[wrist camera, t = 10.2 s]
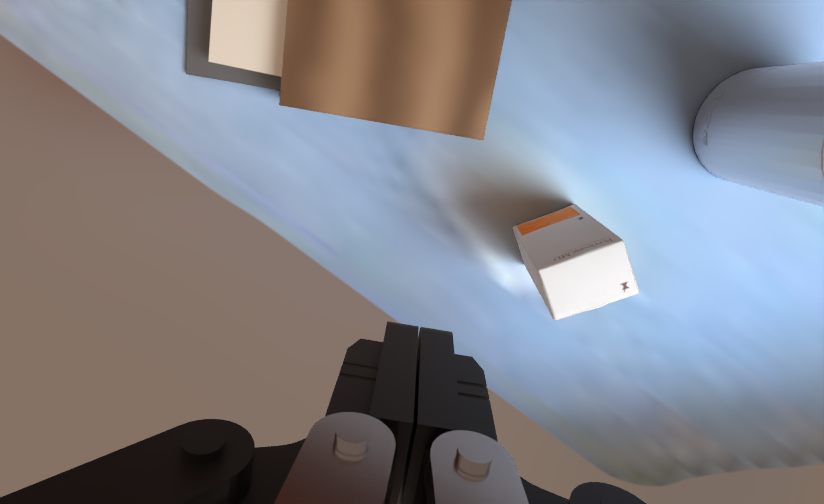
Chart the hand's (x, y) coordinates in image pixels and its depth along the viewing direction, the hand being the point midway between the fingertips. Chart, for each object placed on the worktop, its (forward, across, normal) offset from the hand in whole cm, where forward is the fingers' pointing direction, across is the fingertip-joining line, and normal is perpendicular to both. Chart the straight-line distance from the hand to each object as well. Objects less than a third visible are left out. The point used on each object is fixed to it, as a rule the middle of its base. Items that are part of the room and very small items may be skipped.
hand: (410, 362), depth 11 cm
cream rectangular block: (+33, +15, -10) cm, 37 cm away
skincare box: (+33, -12, +4) cm, 36 cm away
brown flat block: (+33, +4, -10) cm, 35 cm away
